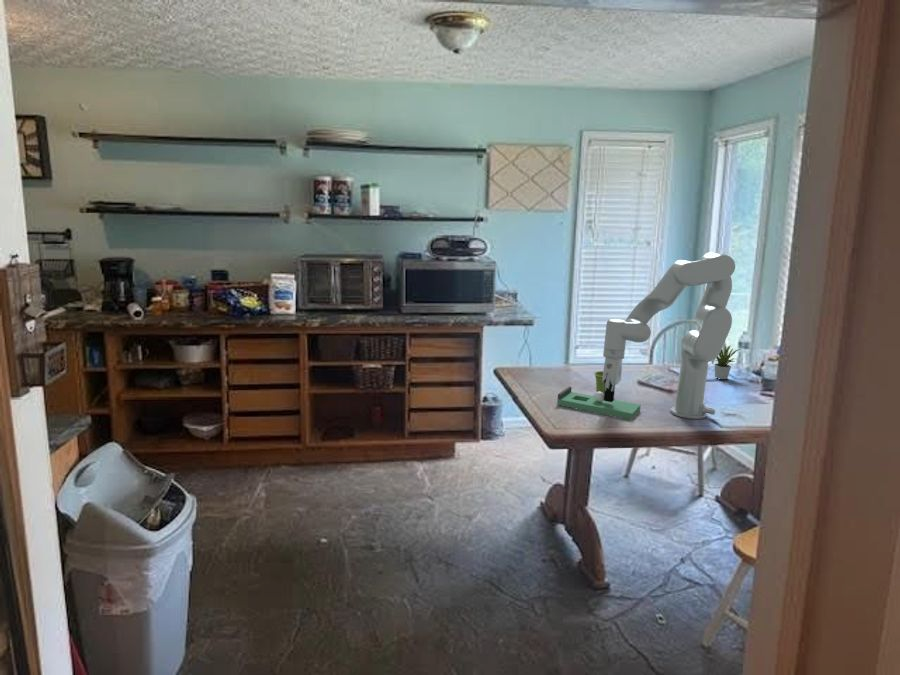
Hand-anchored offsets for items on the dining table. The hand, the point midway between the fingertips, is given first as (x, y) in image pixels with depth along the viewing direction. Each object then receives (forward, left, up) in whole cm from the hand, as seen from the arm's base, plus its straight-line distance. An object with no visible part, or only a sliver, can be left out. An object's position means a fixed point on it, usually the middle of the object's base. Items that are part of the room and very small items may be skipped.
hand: (608, 400), depth 242 cm
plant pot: (+7, -19, -4) cm, 21 cm away
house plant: (-31, -82, -4) cm, 88 cm away
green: (+4, 0, -4) cm, 5 cm away
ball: (+4, 0, +1) cm, 4 cm away
